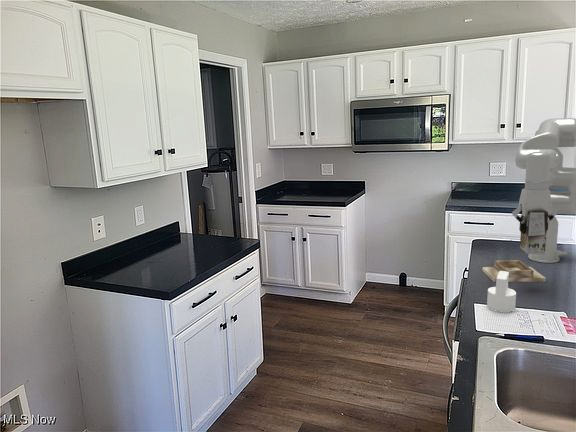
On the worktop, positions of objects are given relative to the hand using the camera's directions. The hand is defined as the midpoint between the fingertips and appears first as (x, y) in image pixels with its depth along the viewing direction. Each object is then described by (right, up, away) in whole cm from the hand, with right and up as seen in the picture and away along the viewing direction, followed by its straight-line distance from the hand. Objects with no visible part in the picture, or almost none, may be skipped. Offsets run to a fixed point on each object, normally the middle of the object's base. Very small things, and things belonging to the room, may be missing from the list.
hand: (533, 232), depth 165 cm
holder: (+2, -19, +20) cm, 28 cm away
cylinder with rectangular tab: (-17, -26, -9) cm, 33 cm away
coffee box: (0, -7, +2) cm, 8 cm away
